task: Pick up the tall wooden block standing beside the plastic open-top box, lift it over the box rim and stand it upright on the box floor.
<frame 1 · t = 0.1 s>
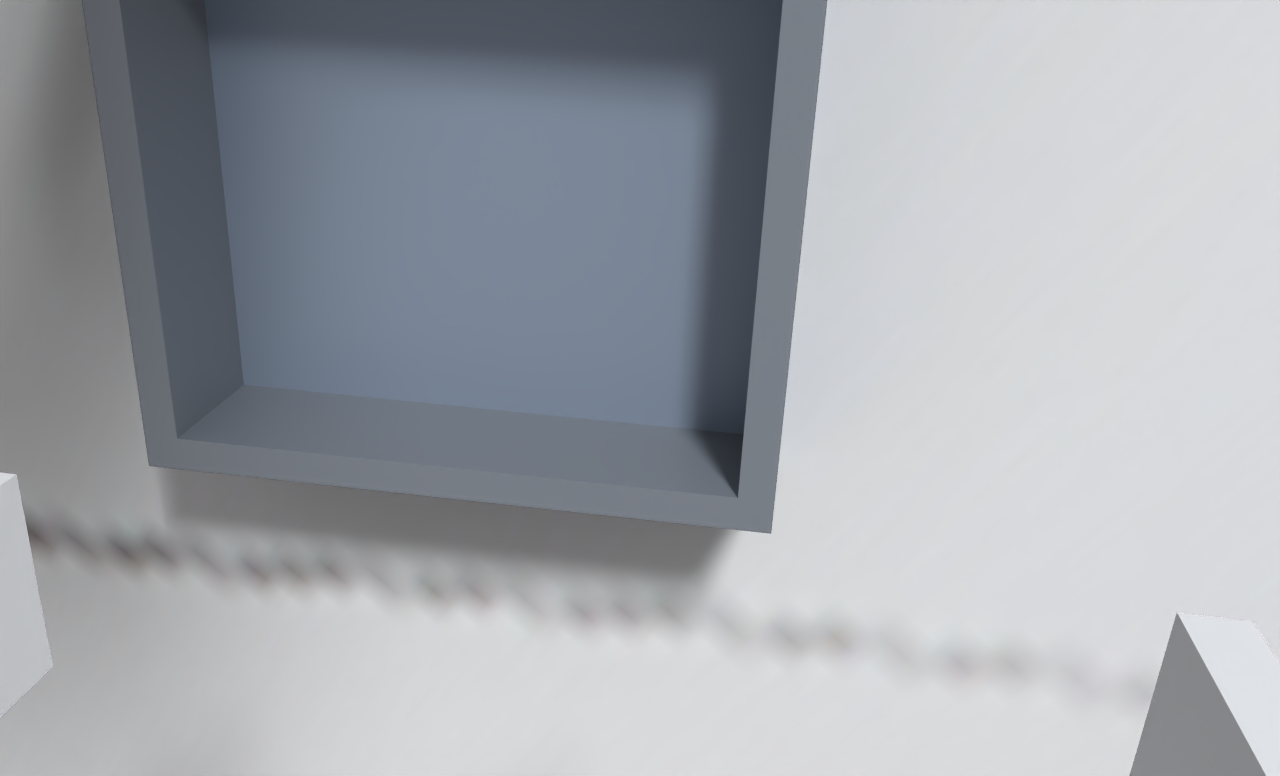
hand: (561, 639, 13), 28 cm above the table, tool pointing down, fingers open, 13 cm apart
open-top box: (493, 173, 39), on the table
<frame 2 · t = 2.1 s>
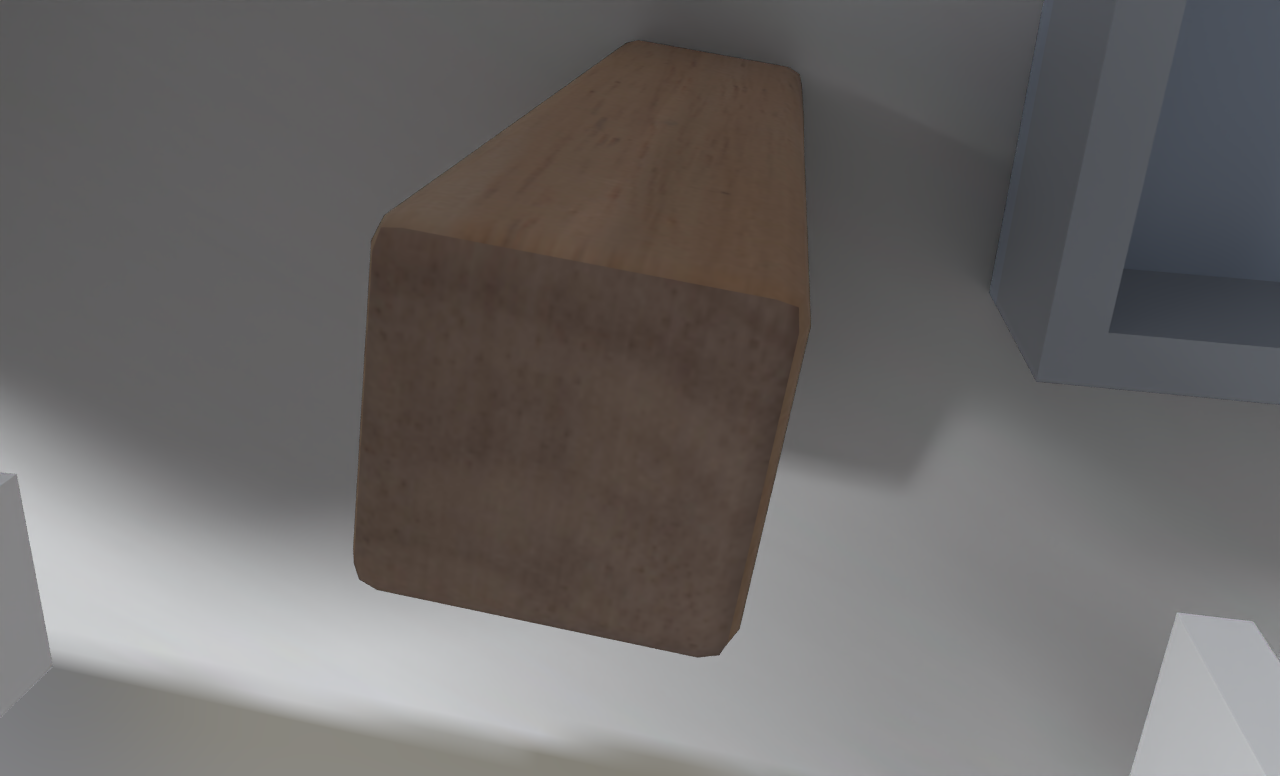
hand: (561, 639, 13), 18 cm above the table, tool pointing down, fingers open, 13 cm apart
wooden block: (683, 226, 29), on the table
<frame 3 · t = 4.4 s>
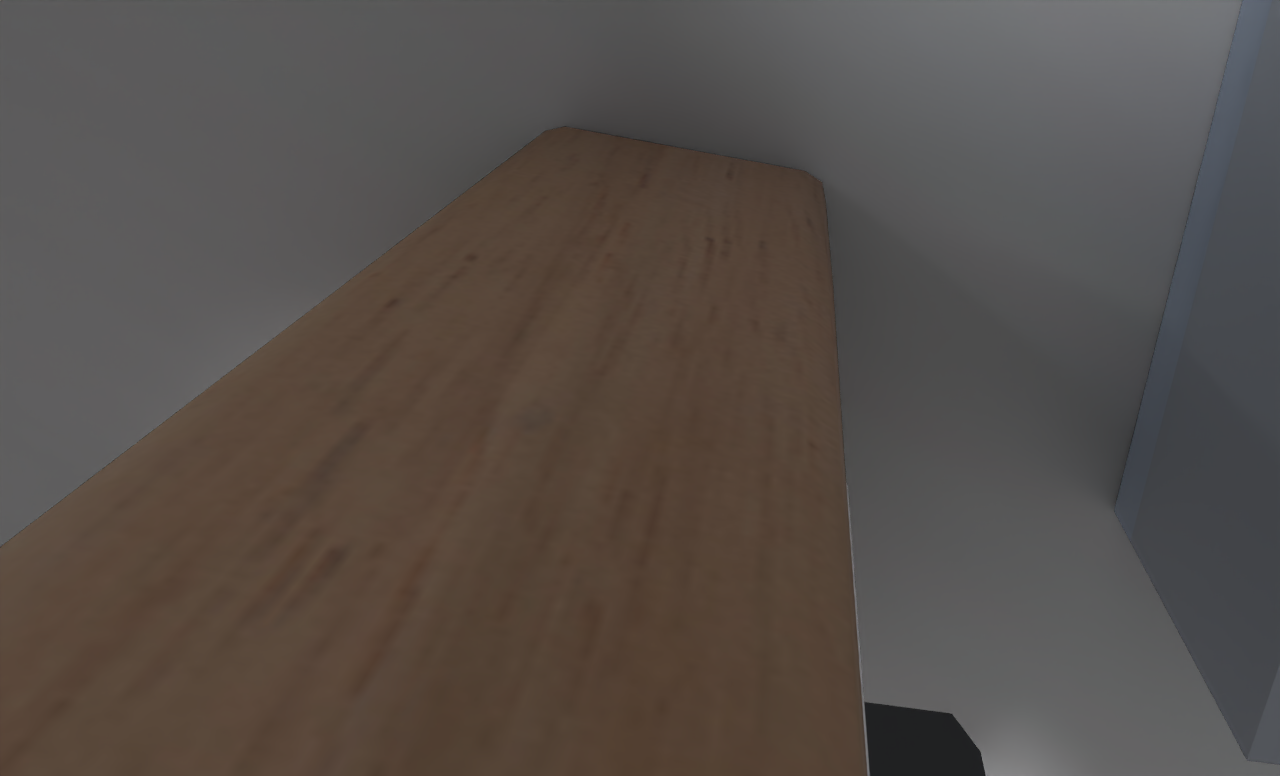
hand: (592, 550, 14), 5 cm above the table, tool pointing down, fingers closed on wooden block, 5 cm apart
wooden block: (643, 401, 19), on the table, touching gripper
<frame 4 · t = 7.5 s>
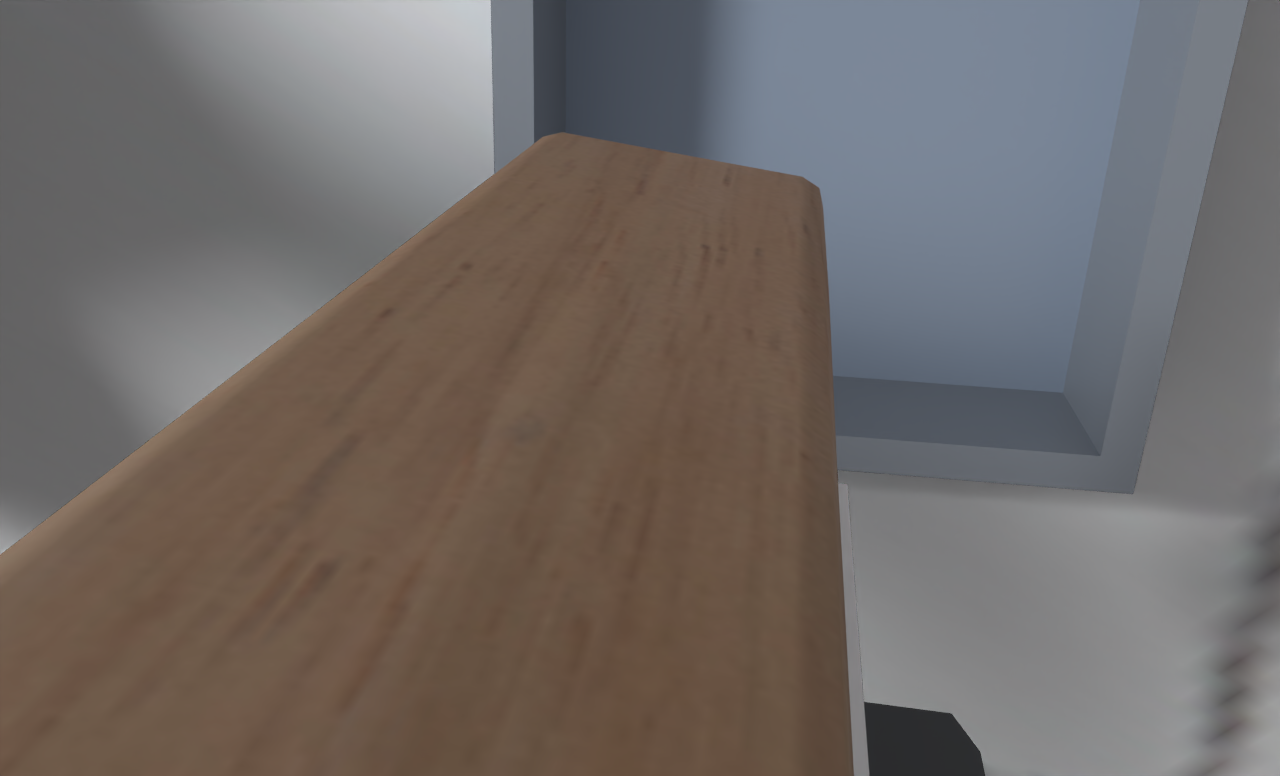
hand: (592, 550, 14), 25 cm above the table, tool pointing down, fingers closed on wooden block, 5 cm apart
wooden block: (641, 406, 19), point 21 cm above the table, touching gripper
open-top box: (834, 87, 36), on the table
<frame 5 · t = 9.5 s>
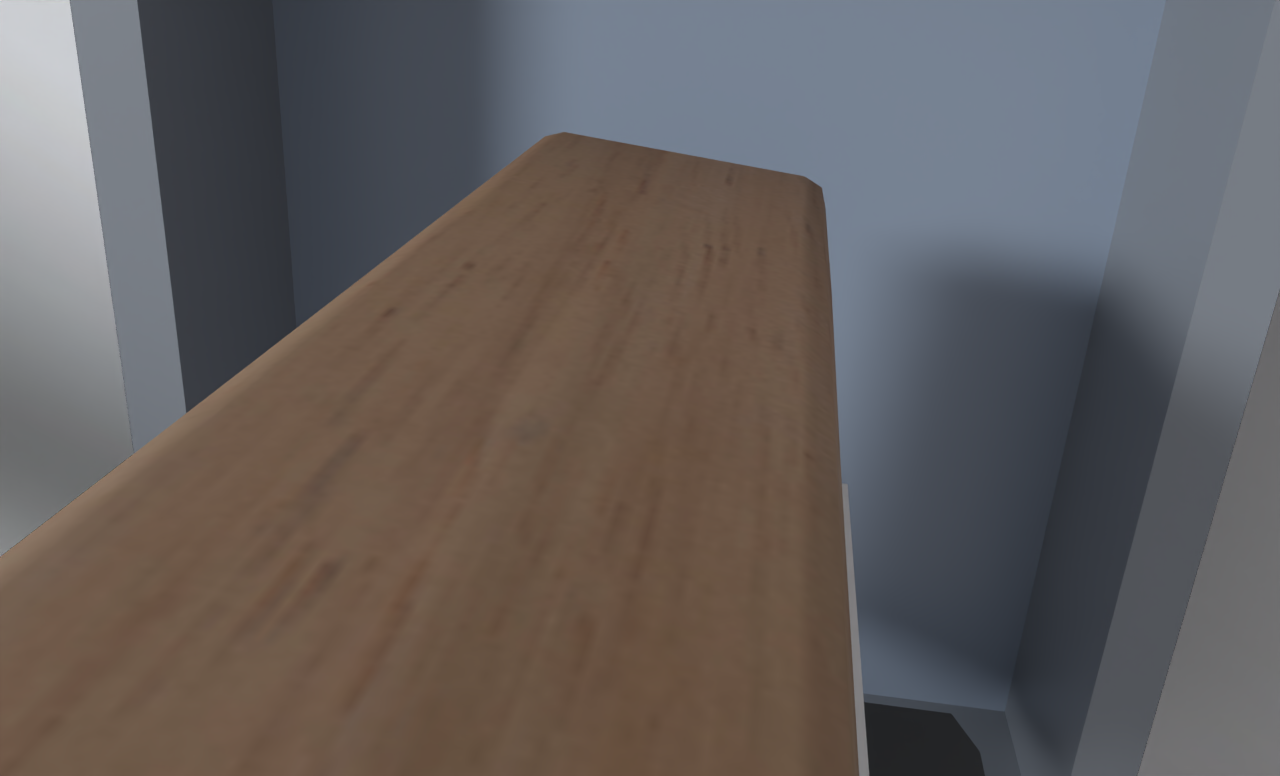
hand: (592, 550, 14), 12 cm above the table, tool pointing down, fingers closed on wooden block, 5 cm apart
wooden block: (643, 406, 19), point 7 cm above the table, touching gripper
open-top box: (679, 285, 25), on the table
when the fingers open (7 cm above the table, at t = 11.0 s): wooden block drops 1 cm, resting on open-top box.
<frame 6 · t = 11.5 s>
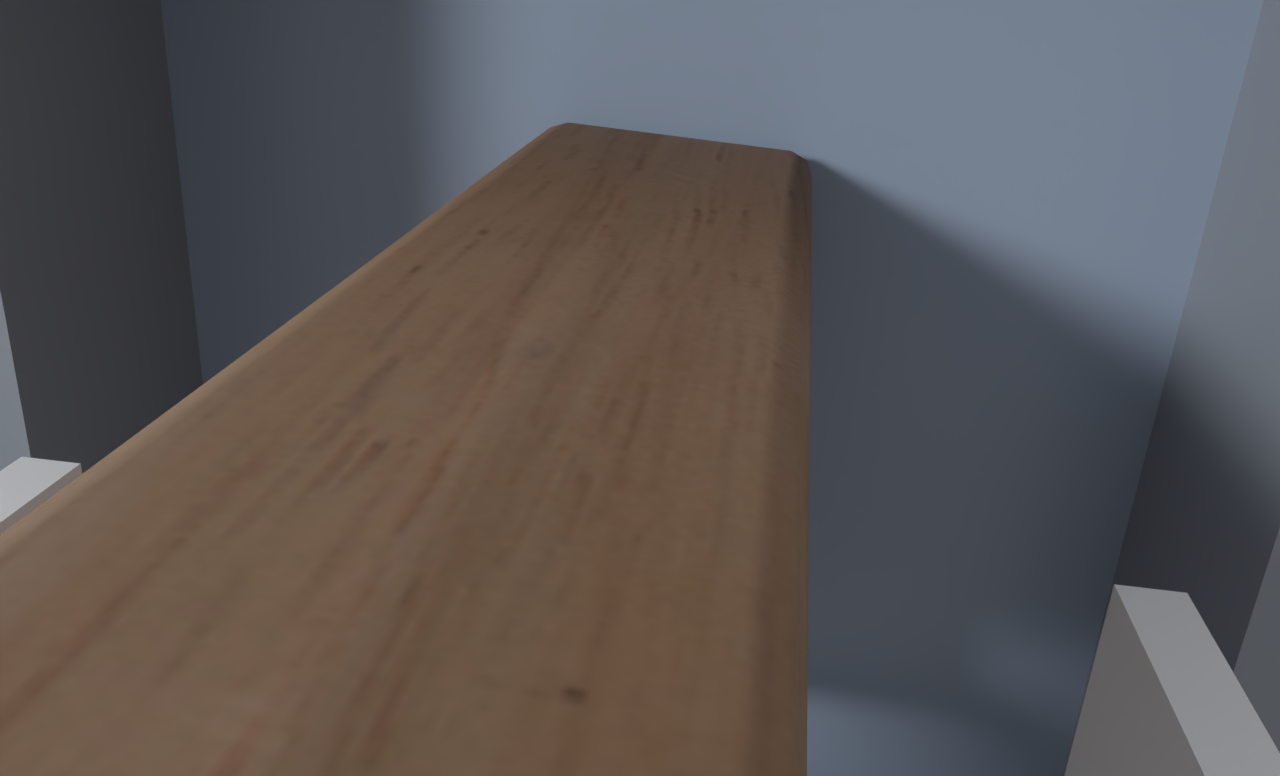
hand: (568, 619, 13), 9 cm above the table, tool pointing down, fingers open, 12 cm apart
wooden block: (654, 375, 20), point 1 cm above the table, touching open-top box
open-top box: (659, 355, 21), on the table
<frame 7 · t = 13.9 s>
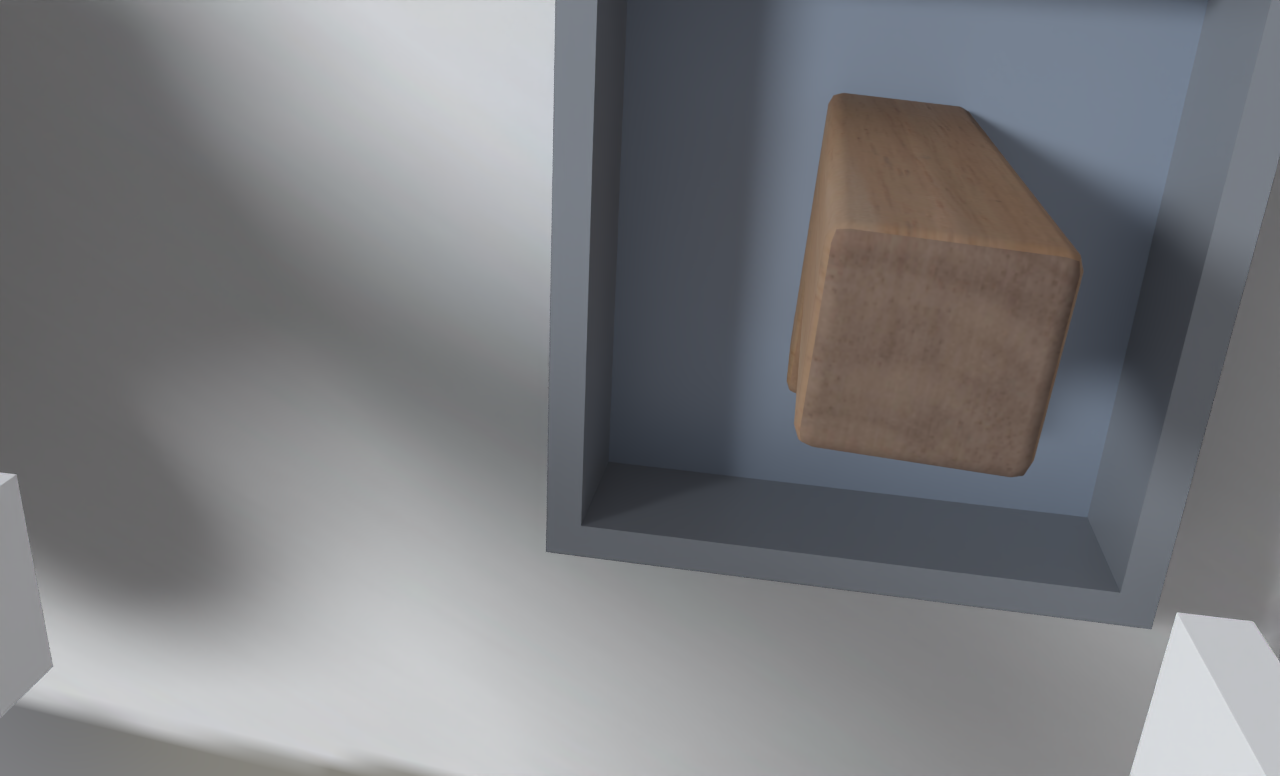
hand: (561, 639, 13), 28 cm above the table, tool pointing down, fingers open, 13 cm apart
wooden block: (875, 232, 37), point 1 cm above the table, touching open-top box
open-top box: (874, 223, 38), on the table
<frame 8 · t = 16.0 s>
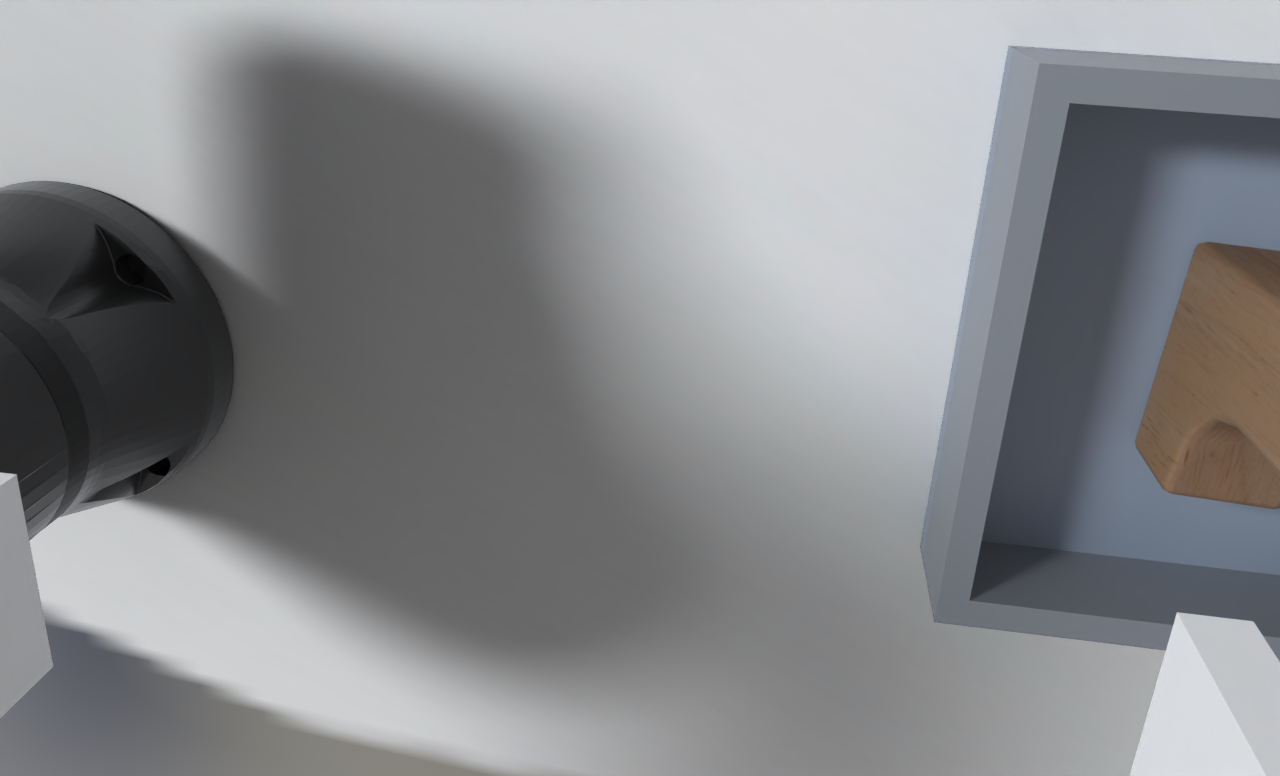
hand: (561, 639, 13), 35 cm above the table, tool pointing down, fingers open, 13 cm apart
wooden block: (1216, 351, 44), point 1 cm above the table, touching open-top box
open-top box: (1210, 342, 45), on the table
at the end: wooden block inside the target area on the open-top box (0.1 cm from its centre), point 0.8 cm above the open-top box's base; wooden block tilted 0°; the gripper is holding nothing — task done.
